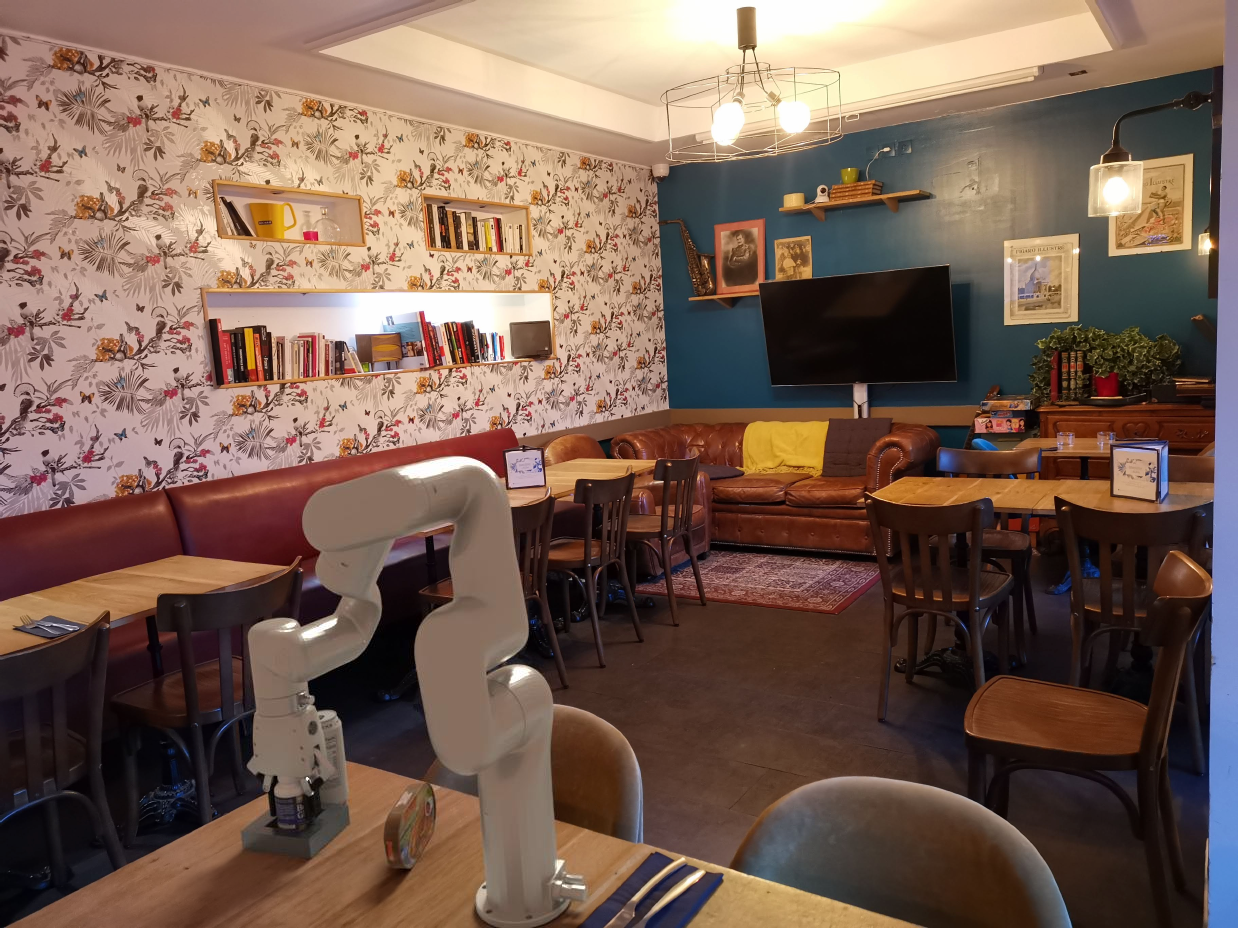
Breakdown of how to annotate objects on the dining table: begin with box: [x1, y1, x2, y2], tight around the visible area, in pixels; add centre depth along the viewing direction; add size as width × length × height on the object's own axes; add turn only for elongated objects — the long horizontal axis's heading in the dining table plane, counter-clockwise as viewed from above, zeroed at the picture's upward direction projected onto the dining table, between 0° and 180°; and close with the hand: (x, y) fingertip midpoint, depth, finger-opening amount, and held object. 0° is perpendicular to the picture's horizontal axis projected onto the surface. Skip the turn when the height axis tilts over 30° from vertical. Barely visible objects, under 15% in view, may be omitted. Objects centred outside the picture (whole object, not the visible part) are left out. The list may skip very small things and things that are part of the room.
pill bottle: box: [274, 776, 315, 831], centre depth 136 cm, size 5×5×10 cm
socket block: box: [240, 802, 351, 859], centre depth 137 cm, size 12×10×3 cm
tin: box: [383, 781, 437, 870], centre depth 131 cm, size 15×3×8 cm, turn 173°
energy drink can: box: [309, 709, 350, 805], centre depth 146 cm, size 6×6×15 cm
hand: (296, 812), depth 137 cm, fingers closed on pill bottle, 5 cm apart
